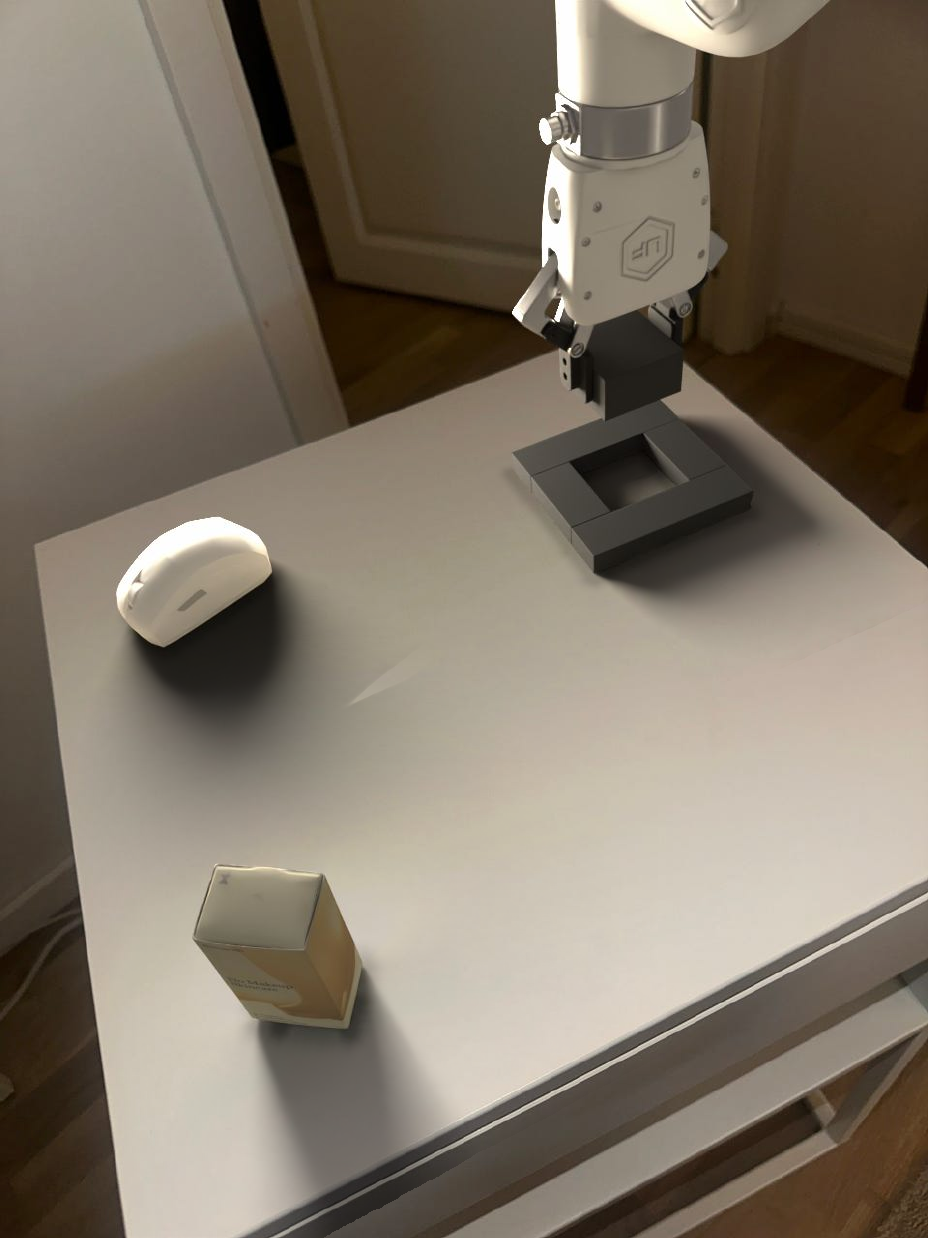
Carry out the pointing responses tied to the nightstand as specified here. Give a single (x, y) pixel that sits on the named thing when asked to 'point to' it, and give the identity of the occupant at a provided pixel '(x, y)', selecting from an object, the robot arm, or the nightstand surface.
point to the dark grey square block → (632, 365)
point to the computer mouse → (190, 578)
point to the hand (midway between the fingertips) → (621, 374)
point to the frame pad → (645, 524)
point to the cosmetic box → (280, 944)
